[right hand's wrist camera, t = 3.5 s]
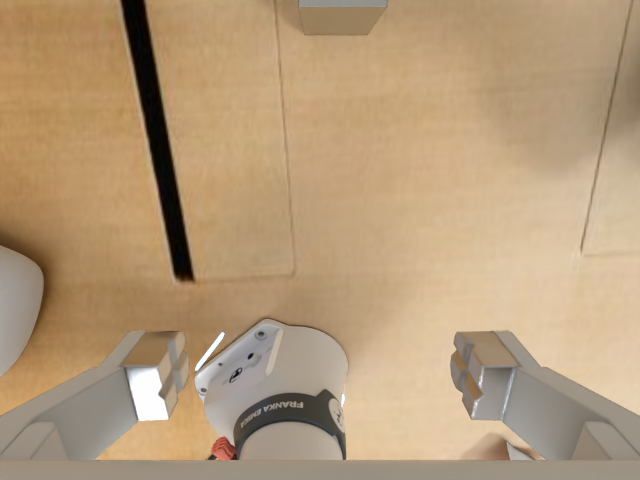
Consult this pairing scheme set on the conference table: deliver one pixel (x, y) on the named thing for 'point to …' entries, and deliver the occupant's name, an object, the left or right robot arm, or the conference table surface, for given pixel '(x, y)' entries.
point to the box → (340, 16)
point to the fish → (517, 453)
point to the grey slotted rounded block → (17, 304)
